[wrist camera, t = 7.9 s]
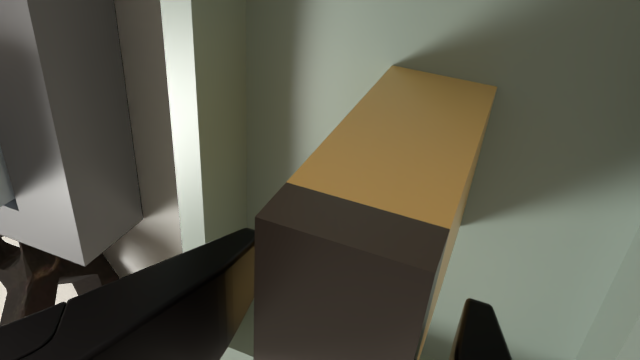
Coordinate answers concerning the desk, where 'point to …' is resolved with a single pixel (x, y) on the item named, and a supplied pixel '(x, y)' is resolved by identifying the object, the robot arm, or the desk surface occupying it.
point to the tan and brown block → (369, 224)
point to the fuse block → (65, 128)
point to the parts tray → (493, 162)
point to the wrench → (43, 278)
